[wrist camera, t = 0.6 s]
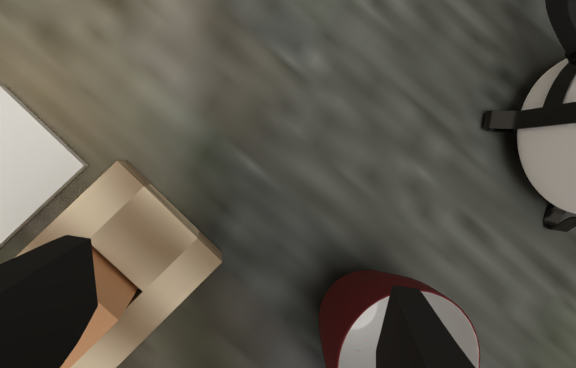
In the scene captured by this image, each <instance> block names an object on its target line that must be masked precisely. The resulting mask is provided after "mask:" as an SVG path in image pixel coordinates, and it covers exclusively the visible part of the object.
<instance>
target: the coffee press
mask: <svg viewBox="0 0 576 368" xmlns="http://www.w3.org/2000/svg"><path fill="white" fill-rule="evenodd" d="M545 2H546V9H547V13H548V16H549V19H550V22H551V24H552V27H553V29H554V31H555V33H556V35H557V37H558V39H559V41H560V43H561V45H562V46H563V48H564V50H565V51H566V52H565V56H566V58H567V59H565V60H563V61H561V62H559V63H558V64H556V65H555V66H553V67H552V68H550V69H549V70H548V71H547V72H546V73H545V74H543V75H542V76H541V77H540V78H539V80H538V81H537V82H536V83H535V84H534V86H533V87H532V89H531V90H530V92H529V94H528V95H527V97H526V99H525V101H524V104H523V106H522V109H521V110H520V111H487V112H486V117H485V123H484V130H487V131H494V132H507V133H517V145H518V152H519V157H520V161H521V164H522V167H523V169H524V171H525V174H526V176H527V177H528V179H529V181H530V182H531V184H532V185H533V187H534V188H535V189H536V190H537V191H538V192H539V193H540V194H541V195H542V196H543V197H544V198H545V199H546V200H547V201H549V202H550V203H552V204H553V206H552V207H551V208H550V209H549V210H548V211H547V212H546V214H545V216H544V225H545V227H546V228H547V229H550V230H557V231H563V232H567V231H569V230H571V229H572V228H574V227H576V217H570V218H567V219H565V220H564V221H562V222H560V223H559V220H560V217H561V216H562V215H563V214H564V213H565V212H566V211H567V212H571V213H574V214H576V0H545Z"/></svg>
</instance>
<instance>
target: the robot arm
mask: <svg viewBox="0 0 576 368" xmlns="http://www.w3.org/2000/svg"><path fill="white" fill-rule="evenodd" d="M97 307H98V300H97V290H96V281H95V272H94V262H93V253H92V244H91V238H84V237H78V236H71V235H65V236H62V237H60V238H57V239H55V240H52V241H50V242H48V243H45V244H43V245H41V246H39V247H37V248H34V249H32V250H30V251H28V252H26V253H24V254H22V255H19V256H17V257H15V258H13V259H11V260H9V261H7V262H4V263H2V264H0V368H60V367H61V366H62V364H63V363H64V362H65V360H66V359H67V357H68V356H69V355H70V353H71V352H72V350H73V349H74V348H75V346H76V345H77V343H78V342H79V340H80V338H81V336H82V335H83V333H84V331H85V329H86V328H87V326H88V324H89V322H90V320H91V318H92V316H93V314H94V312H95V310H96V309H97ZM376 368H475V366H474V365H473V364H472V362H471V361H470V360H469V358H468V357H467V356H466V354H465V353H464V352H463V350H462V349H461V348H460V346H459V345H458V344H457V342H456V341H455V340H454V338H453V337H452V335H451V334H450V333H449V331H448V330H447V328H446V327H445V325H444V324H443V323H442V321H441V320H440V318H439V317H438V315H437V314H436V312H435V311H434V309H433V308H432V306H431V305H430V304H429V302H428V301H427V299H426V298H425V296H424V295H423V293H422V292H421V291H420V289H417V288H410V287H404V286H397V285H392V288H391V292H390V296H389V300H388V304H387V308H386V312H385V316H384V320H383V324H382V328H381V332H380V336H379V340H378V344H377V348H376Z"/></svg>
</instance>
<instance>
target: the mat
mask: <svg viewBox="0 0 576 368" xmlns="http://www.w3.org/2000/svg"><path fill="white" fill-rule="evenodd" d="M87 166H88V165H87V164H86V163H85V162H84V161H83V160H82V159H81V158H80V157H79V156H78V155H77V154H76V153H75V152H74V151H72V150H71V149H70V148H69V147H68V146H67V145H66V144H65V143H64V142H63V141H62V140H61V139H60V138H59V137H58V136H57V135H56V134H55V133H54V132H53V131H51V130H50V129H49V128H48V127H47V126H46V125H45V124H44V123H43V122H42V121H41V120H40V119H39V118H38V117H37V116H36V115H35V114H34V113H33V112H31V111H30V110H29V109H28V108H27V107H26V106H25V105H24V104H23V103H22V102H21V101H20V100H19V99H18V98H17V97H16V96H15V95H14V94H13V93H11V92H10V91H9V90H8V89H7V88H6V87H3V86H1V85H0V248H1V247H2V246H3V245H4V244H5V243H6V242H7V241H8V240H9V239H11V238H12V237H13V236H14V235H15V234H16V233H17V232H18V231H19V230H20V229H21V228H22V227H23V226H24V225H25V224H26V223H28V222H29V221H30V220H31V219H32V218H33V217H34V216H35V215H36V214H37V213H38V212H39V211H40V210H41V209H42V208H44V207H45V206H46V205H47V204H48V203H49V202H50V201H51V200H52V199H53V198H54V197H55V196H56V195H57V194H58V193H59V192H61V191H62V190H63V189H64V188H65V187H66V186H67V185H68V184H69V183H70V182H71V181H72V180H73V179H74V178H75V177H77V176H78V175H79V174H80V173H81V172H82V171H83V170H84V169H85V168H86V167H87Z"/></svg>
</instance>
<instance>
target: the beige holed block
mask: <svg viewBox="0 0 576 368" xmlns="http://www.w3.org/2000/svg"><path fill="white" fill-rule="evenodd" d="M65 235H71V236H78V237H84V238H91V244H92V246H93V247H95V248H96V249H97V250H98V251H99V252H100V253H101V254H102V255H103V256H104V257H105V258H107V259H108V260H109V261H110V262H111V263H112V264H113V265H114V266H115V267H116V268H117V269H119V270H120V271H121V272H122V273H123V274H124V275H125V276H126V277H127V278H128V279H129V280H131V281H132V282H133V283H134V284H135V285H136V286H137V287H138V288H139V289H140V290H138V291H137V292H136V293H135V294H134V296H133V297H132V299H131V301H130V302H129V304H128V306H127V307H126V309H125V311H124V312H123V314H122V315H121V317H120V319H119V320H118V321H117V322H116V323H115V324H114V325H113V326H112V327H111V328H110V329H109V330H108V331H107V332H106V333H105V334H104V335H103V336H102V337H101V338H100V339H99V340H98V341H97V342H96V343H95V344H94V345H93V346H92V347H91V348H90V349H89V350H88V351H87V352H86V353H85V354H84V355H83V356H82V357H81V358H80V359H79V360H78V361H77V362H76V363H75V364H74V365H73V366H71V367H70V368H116V367H117V366H118V365H119V364H120V363H121V362H122V361H123V360H124V359H125V358H126V357H127V356H128V355H129V354H130V353H131V352H132V351H133V350H134V349H135V348H136V347H137V346H138V345H139V344H140V343H141V342H142V341H143V340H144V339H145V338H146V337H147V336H148V335H149V334H150V333H151V332H152V331H153V330H154V329H155V328H156V327H157V326H158V325H159V324H160V323H161V322H162V321H163V320H164V319H166V318H167V317H168V316H169V315H170V314H171V313H172V312H173V311H174V310H175V309H176V308H177V307H178V306H179V305H180V304H181V303H182V302H183V301H184V300H185V299H186V298H187V297H188V296H189V295H190V294H191V293H192V292H193V291H194V290H195V289H196V288H197V287H198V286H199V285H200V284H201V283H202V282H203V281H204V280H205V279H206V278H207V277H208V276H209V275H210V274H211V273H212V272H213V271H214V270H215V269H216V268H217V267H218V266H219V265H220V264H221V263H222V252H221V251H220V250H219V249H218V248H217V247H216V246H215V245H214V244H212V243H211V242H210V241H209V240H208V239H207V238H206V237H205V236H204V235H203V234H202V233H201V232H200V231H199V230H198V229H197V228H196V227H195V226H194V225H193V224H192V223H191V222H190V221H189V220H188V219H187V218H186V217H185V216H184V215H183V214H182V213H181V212H179V211H178V210H177V209H176V208H175V207H174V206H173V205H172V204H171V203H170V202H169V201H168V200H167V199H166V198H165V197H164V196H163V195H162V194H161V193H160V192H159V191H158V190H157V189H156V188H155V187H154V186H153V185H152V184H151V183H150V182H149V181H147V180H146V179H145V178H144V177H143V176H142V175H141V174H140V173H139V172H138V171H137V170H136V169H135V168H134V167H133V166H132V165H131V164H130V163H129V162H128V161H116V162H115V163H114V164H113V165H112V166H111V167H110V168H109V169H108V170H107V171H106V172H105V173H104V174H103V175H102V176H100V177H99V178H98V179H97V180H96V181H95V182H94V183H93V184H92V185H91V186H90V187H89V188H88V189H87V190H86V191H85V192H84V193H82V194H81V195H80V196H79V197H78V198H77V199H76V200H75V201H74V202H73V203H72V204H71V205H70V206H69V207H68V208H67V209H66V210H64V211H63V212H62V213H61V214H60V215H59V216H58V217H57V218H56V219H55V220H54V221H53V222H52V223H51V224H50V225H49V226H48V227H46V228H45V229H44V230H43V231H42V232H41V233H40V234H39V235H38V236H37V237H36V238H35V239H34V240H33V241H32V242H31V243H30V244H28V245H27V246H26V247H25V248H24V249H23V250H22V251H21V252H20V253H19V254H18V255H17V256H19V255H22V254H24V253H26V252H28V251H30V250H32V249H34V248H37V247H39V246H41V245H43V244H45V243H48V242H50V241H52V240H55V239H57V238H60V237H62V236H65ZM17 256H16V257H17Z"/></svg>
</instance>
